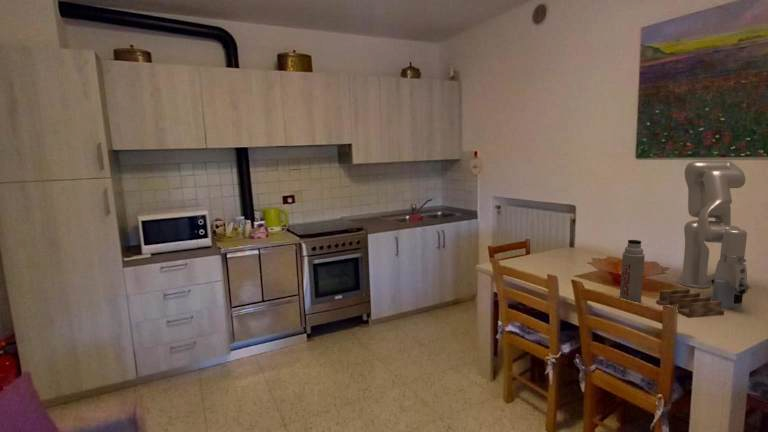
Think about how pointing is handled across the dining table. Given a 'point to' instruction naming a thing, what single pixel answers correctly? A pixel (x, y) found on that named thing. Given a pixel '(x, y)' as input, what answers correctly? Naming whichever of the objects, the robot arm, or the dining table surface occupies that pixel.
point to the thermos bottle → (632, 272)
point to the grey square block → (724, 294)
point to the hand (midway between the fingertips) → (727, 299)
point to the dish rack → (690, 303)
